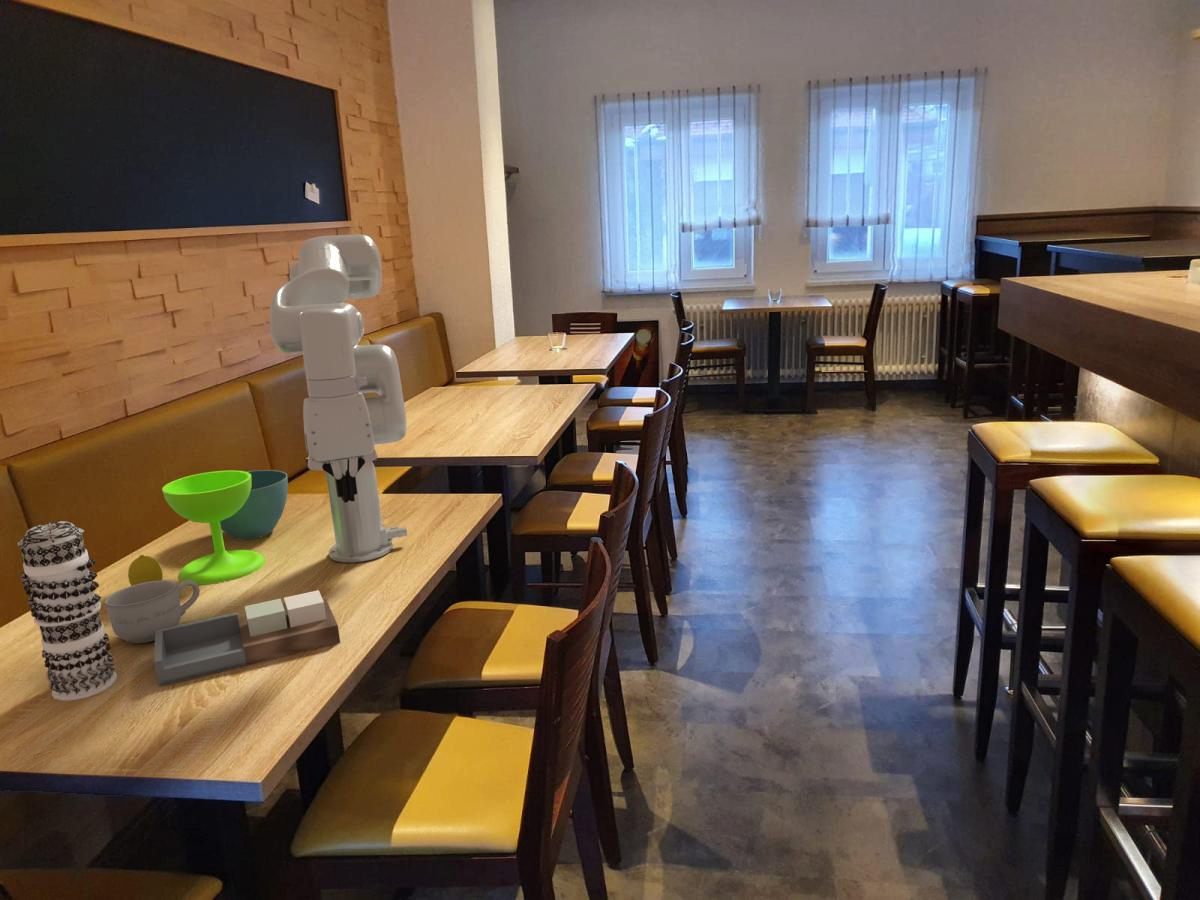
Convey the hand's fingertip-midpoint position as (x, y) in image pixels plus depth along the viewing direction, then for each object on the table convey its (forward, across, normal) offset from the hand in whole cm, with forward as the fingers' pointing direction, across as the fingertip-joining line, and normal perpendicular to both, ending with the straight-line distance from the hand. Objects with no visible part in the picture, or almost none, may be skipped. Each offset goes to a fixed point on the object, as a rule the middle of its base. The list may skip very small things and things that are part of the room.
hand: (348, 499), depth 138 cm
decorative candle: (+22, +41, -1) cm, 46 cm away
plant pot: (+21, +13, -60) cm, 65 cm away
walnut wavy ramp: (+21, +12, 0) cm, 24 cm away
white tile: (+18, +9, 0) cm, 20 cm away
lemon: (+21, +33, -34) cm, 52 cm away
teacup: (+22, +31, -15) cm, 40 cm away
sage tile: (+18, +15, 0) cm, 24 cm away
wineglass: (+21, +20, -41) cm, 50 cm away
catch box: (+21, +25, 0) cm, 33 cm away
